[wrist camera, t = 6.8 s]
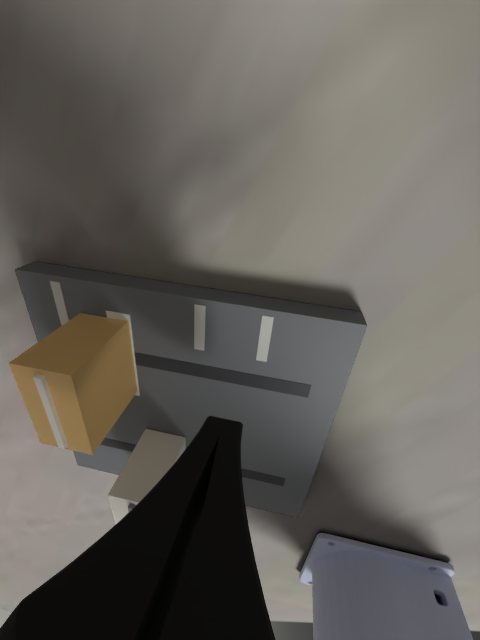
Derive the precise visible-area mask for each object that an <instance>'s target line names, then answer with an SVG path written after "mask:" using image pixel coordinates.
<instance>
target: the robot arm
mask: <svg viewBox="0 0 480 640" xmlns="http://www.w3.org/2000/svg"><path fill="white" fill-rule="evenodd" d="M242 430H243V424H242V423H241V422H238V421H233V420H228V419H224V418H219V417H214V416H209V417H207V419H206V420H205V422H204V424H203V425H202V427H201V428H200V430H199V431H198V433H197V434H196V436H195V437H194V439H193V440H192V441H191V443H190V444H189V445H188V447H187V448H186V449H185V451H184V452H183V453H182V454H181V456H180V457H179V458H178V460H177V461H176V462H175V463H174V465H173V466H172V467H171V468H170V469H169V470H168V471H167V473H166V474H165V475H164V476H163V477H162V478H161V480H160V481H159V482H158V483H157V484H156V485H155V486H154V487H153V488H152V489H151V491H150V492H149V493H148V494H147V495H146V496H145V497H144V498H143V499H142V500H141V501H140V502H139V503H138V504H137V505H136V506H135V507H134V508H133V509H132V510H131V511H130V512H129V513H128V514H127V515H125V516H124V517H123V518H122V519H121V520H120V521H119V522H118V523H117V524H116V525H115V526H114V527H113V528H112V529H110V530H109V531H108V532H107V533H106V534H105V535H104V536H103V537H101V538H100V539H99V540H98V541H97V542H95V543H94V544H93V545H92V546H91V547H89V548H88V549H87V550H86V551H85V552H83V553H82V554H81V555H80V556H79V557H77V558H76V559H75V560H74V561H73V562H71V563H70V564H69V565H68V566H66V567H65V568H64V569H63V570H61V571H60V572H59V573H57V574H56V575H55V576H53V577H52V578H51V579H49V580H48V581H47V582H45V583H44V584H43V585H41V586H40V587H39V588H37V589H36V590H35V591H33V592H32V593H31V594H29V595H28V596H27V597H25V598H24V599H23V600H22V601H21V602H20V603H19V605H18V606H17V607H16V608H15V610H14V611H13V612H12V614H11V615H10V616H9V617H8V619H7V620H6V622H5V623H4V624H3V626H2V627H1V628H0V640H275V637H274V633H273V630H272V626H271V622H270V618H269V615H268V611H267V607H266V604H265V600H264V595H263V591H262V587H261V583H260V579H259V574H258V570H257V566H256V562H255V557H254V552H253V547H252V542H251V537H250V532H249V526H248V520H247V514H246V507H245V500H244V492H243V483H242V469H241V437H242ZM454 574H455V570H454V568H453V566H452V565H451V564H449V563H446V562H442V561H438V560H433V559H429V558H425V557H421V556H417V555H413V554H409V553H405V552H400V551H396V550H392V549H388V548H384V547H380V546H376V545H372V544H368V543H363V542H359V541H355V540H351V539H347V538H343V537H339V536H335V535H330V534H326V533H319V534H318V535H317V536H316V538H315V541H314V543H313V545H312V547H311V550H310V552H309V554H308V556H307V559H306V561H305V563H304V565H303V568H302V570H301V572H300V575H299V580H300V582H302V583H304V584H308V585H311V586H312V597H313V632H314V640H473V638H472V636H471V633H470V630H469V627H468V624H467V622H466V619H465V616H464V613H463V611H462V608H461V605H460V602H459V599H458V597H457V594H456V591H455V588H454V585H453V583H452V580H451V577H452V576H453V575H454Z"/></svg>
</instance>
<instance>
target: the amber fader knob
mask: <svg viewBox="0 0 480 640" xmlns="http://www.w3.org/2000/svg"><path fill="white" fill-rule="evenodd" d="M9 365H10V368H11V370H12V372H13V375H14V377H15V380H16V382H17V385H18V387H19V390H20V392H21V395H22V397H23V400H24V402H25V405H26V407H27V410H28V412H29V415H30V417H31V420H32V422H33V425H34V427H35V430H36V432H37V435H38V437H39V440H40V442H41V443H43V444H47V445H52V446H56V447H58V448H59V449H63V450H66V449H69V450H73V451H77V452H82V453H86V454H90V455H93V454H94V453H95V451H96V450H97V448H98V447H99V446H100V444H101V443H102V441H103V440H104V438H105V437H106V436H107V434H108V433H109V431H110V430H111V428H112V427H113V426H114V424H115V423H116V421H117V420H118V418H119V417H120V415H121V414H122V413H123V411H124V410H125V408H126V407H127V405H128V404H129V403H130V401H131V400H132V398H133V397H134V395H135V394H136V393H137V384H136V376H135V368H134V360H133V352H132V344H131V336H130V329H129V321H124V320H119V319H113V318H107V317H101V316H95V315H90V314H84V313H79V314H78V315H77V316H75V317H74V318H72V319H71V320H69V321H68V322H67V323H65V324H64V325H62V326H61V327H59V328H58V329H57V330H55V331H54V332H52V333H51V334H49V335H48V336H47V337H45V338H44V339H42V340H41V341H39V342H38V343H37V344H35V345H34V346H32V347H31V348H30V349H28V350H27V351H25V352H24V353H22V354H21V355H20V356H18V357H17V358H15V359H14V360H12V361H11V362H10V363H9Z"/></svg>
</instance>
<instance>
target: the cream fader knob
mask: <svg viewBox="0 0 480 640" xmlns="http://www.w3.org/2000/svg"><path fill="white" fill-rule="evenodd" d="M185 449H186V439H185V437H182V436H177V435H173V434H168V433H163V432H159V431H154V430H149V429H145V431H144V433H143V434H142V436H141V438H140V440H139V441H138V443H137V445H136V447H135V448H134V450H133V452H132V454H131V455H130V457H129V459H128V461H127V462H126V464H125V466H124V468H123V469H122V471H121V473H120V475H119V476H118V478H117V480H116V482H115V483H114V485H113V487H112V489H111V490H110V492H109V494H108V498H109V501H110V505H111V509H112V513H113V517H114V521H115V524H117V523H118V522H119V521H120V520H121V519H122V518H123V517H124V516H125V515H127V514H128V513H129V512H130V511H131V510H132V509H133V508H134V507H135V506H136V505H137V504H138V503H139V502H140V501H141V500H142V499H143V498H144V497H145V496H146V495H147V494H148V493H149V492H150V491H151V489H152V488H153V487H154V486H155V485H156V484H157V483H158V482H159V481H160V480H161V478H162V477H163V476H164V475H165V474H166V473H167V471H168V470H169V469H170V468H171V467H172V466H173V465H174V463H175V462H176V461H177V460H178V458H179V457H180V456H181V454H182V453H183V452H184V451H185Z"/></svg>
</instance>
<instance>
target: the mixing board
mask: <svg viewBox="0 0 480 640" xmlns="http://www.w3.org/2000/svg"><path fill="white" fill-rule="evenodd" d="M15 272H16V275H17V278H18V281H19V284H20V288H21V291H22V294H23V297H24V300H25V303H26V306H27V309H28V312H29V315H30V318H31V322H32V325H33V328H34V331H35V334H36V337H37V340H38V342H39V341H41V340H42V339H44V338H45V337H47V336H48V335H49V334H51V333H52V332H54V331H55V330H57V329H58V328H59V327H61V326H62V325H64V324H65V323H67V322H68V321H69V320H71V319H72V318H74V317H75V316H77V315H78V314H79V313H84V314H90V315H95V316H101V317H107V318H113V319H119V320H124V321H129V329H130V336H131V344H132V352H133V360H134V368H135V376H136V384H137V393H136V394H135V395H134V397H133V398H132V400H131V401H130V403H129V404H128V405H127V407H126V408H125V410H124V411H123V413H122V414H121V415H120V417H119V418H118V420H117V421H116V423H115V424H114V426H113V427H112V428H111V430H110V431H109V433H108V434H107V436H106V437H105V438H104V440H103V441H102V443H101V444H100V446H99V447H98V448H97V450H96V451H95V453H94V454H93V455H90V454H86V453H82V452H77V451H73V452H74V455H75V458H76V461H77V464H78V465H79V466H83V467H87V468H92V469H96V470H100V471H104V472H108V473H112V474H117V475H120V473H121V471H122V469H123V468H124V466H125V464H126V462H127V461H128V459H129V457H130V455H131V454H132V452H133V450H134V448H135V447H136V445H137V443H138V441H139V440H140V438H141V436H142V434H143V433H144V431H145V429H149V430H154V431H159V432H163V433H168V434H173V435H177V436H182V437H185V439H186V448H187V447H188V445H189V444H190V443H191V441H192V440H193V439H194V437H195V436H196V434H197V433H198V431H199V430H200V428H201V427H202V425H203V424H204V422H205V420H206V419H207V417H209V416H214V417H219V418H224V419H228V420H233V421H238V422H241V423H242V424H243V430H242V437H241V469H242V483H243V492H244V500H245V505H246V506H250V507H254V508H259V509H263V510H267V511H271V512H275V513H280V514H284V515H288V516H292V517H296V518H299V515H300V513H301V510H302V507H303V504H304V501H305V499H306V496H307V493H308V490H309V487H310V485H311V482H312V479H313V476H314V473H315V470H316V468H317V465H318V462H319V459H320V456H321V454H322V451H323V448H324V445H325V442H326V440H327V437H328V434H329V431H330V428H331V426H332V423H333V420H334V417H335V414H336V412H337V409H338V406H339V403H340V400H341V397H342V395H343V392H344V389H345V386H346V383H347V381H348V378H349V375H350V372H351V369H352V367H353V364H354V361H355V358H356V355H357V353H358V350H359V347H360V344H361V341H362V339H363V336H364V333H365V330H366V327H367V324H366V321H365V319H364V316H363V314H362V312H359V311H353V310H346V309H340V308H333V307H327V306H320V305H314V304H307V303H301V302H294V301H288V300H281V299H275V298H268V297H262V296H255V295H249V294H242V293H236V292H229V291H223V290H216V289H210V288H203V287H197V286H190V285H184V284H177V283H171V282H164V281H158V280H151V279H145V278H138V277H132V276H125V275H119V274H112V273H106V272H99V271H93V270H86V269H80V268H73V267H67V266H60V265H54V264H47V263H41V262H33V263H30V264H27V265H25V266H22V267H20V268H17V269H15Z"/></svg>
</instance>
